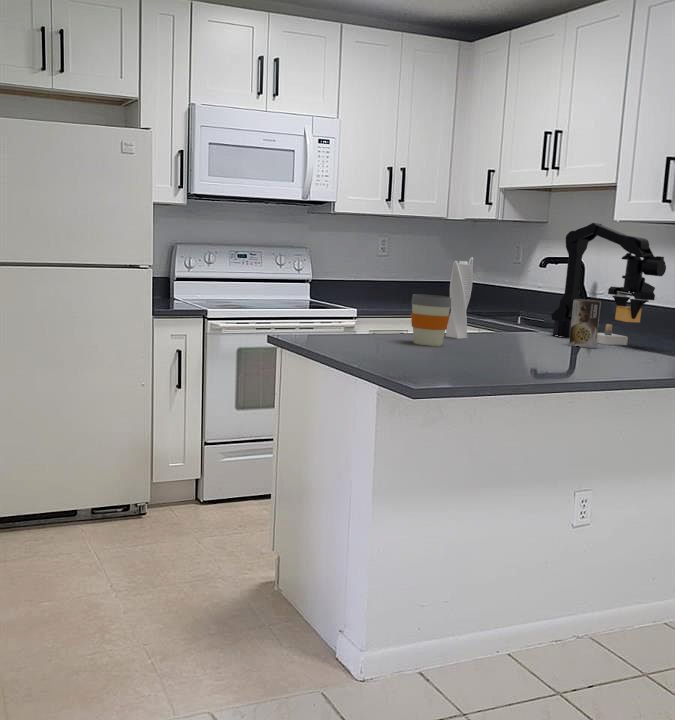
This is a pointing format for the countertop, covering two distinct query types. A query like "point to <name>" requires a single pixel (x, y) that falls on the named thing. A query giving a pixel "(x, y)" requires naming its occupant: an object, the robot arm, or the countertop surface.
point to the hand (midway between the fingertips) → (627, 317)
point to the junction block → (611, 337)
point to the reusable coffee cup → (429, 318)
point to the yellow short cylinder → (626, 314)
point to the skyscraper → (459, 298)
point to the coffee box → (584, 323)
